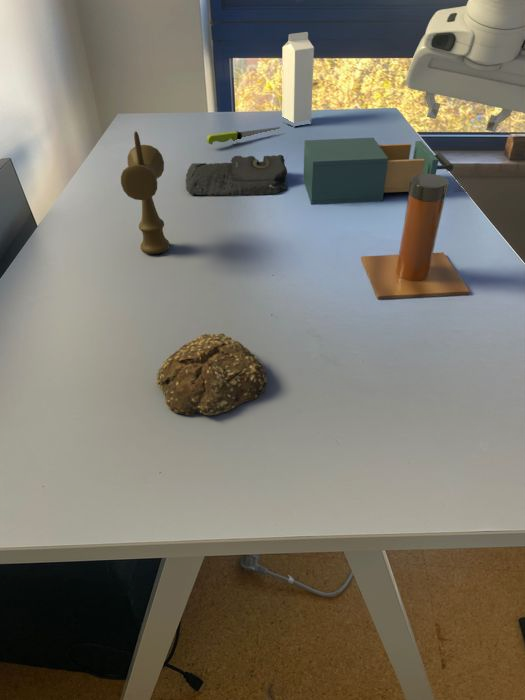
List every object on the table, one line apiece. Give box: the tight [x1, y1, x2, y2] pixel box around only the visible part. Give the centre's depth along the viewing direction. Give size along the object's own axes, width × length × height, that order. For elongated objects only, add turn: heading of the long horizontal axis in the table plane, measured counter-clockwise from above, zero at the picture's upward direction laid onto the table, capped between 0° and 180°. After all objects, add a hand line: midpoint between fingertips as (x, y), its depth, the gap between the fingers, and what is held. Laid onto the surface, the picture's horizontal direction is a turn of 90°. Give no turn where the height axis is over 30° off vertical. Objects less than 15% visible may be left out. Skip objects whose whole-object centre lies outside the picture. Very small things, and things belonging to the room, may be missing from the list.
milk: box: [281, 31, 315, 123], centre depth 139 cm, size 6×6×22 cm
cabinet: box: [302, 137, 388, 205], centre depth 106 cm, size 15×13×9 cm
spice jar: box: [396, 174, 450, 281], centre depth 77 cm, size 5×5×15 cm
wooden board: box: [360, 252, 471, 300], centre depth 82 cm, size 14×12×1 cm
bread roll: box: [155, 333, 267, 416], centre depth 63 cm, size 13×12×5 cm
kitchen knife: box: [206, 126, 281, 145], centre depth 134 cm, size 22×1×3 cm, turn 124°
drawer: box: [378, 140, 454, 194], centre depth 107 cm, size 18×11×7 cm, turn 94°
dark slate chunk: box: [185, 154, 288, 197], centre depth 112 cm, size 15×22×5 cm
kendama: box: [120, 130, 170, 255], centre depth 84 cm, size 6×10×20 cm, turn 3°
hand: (461, 122), depth 83 cm, fingers open, 8 cm apart
